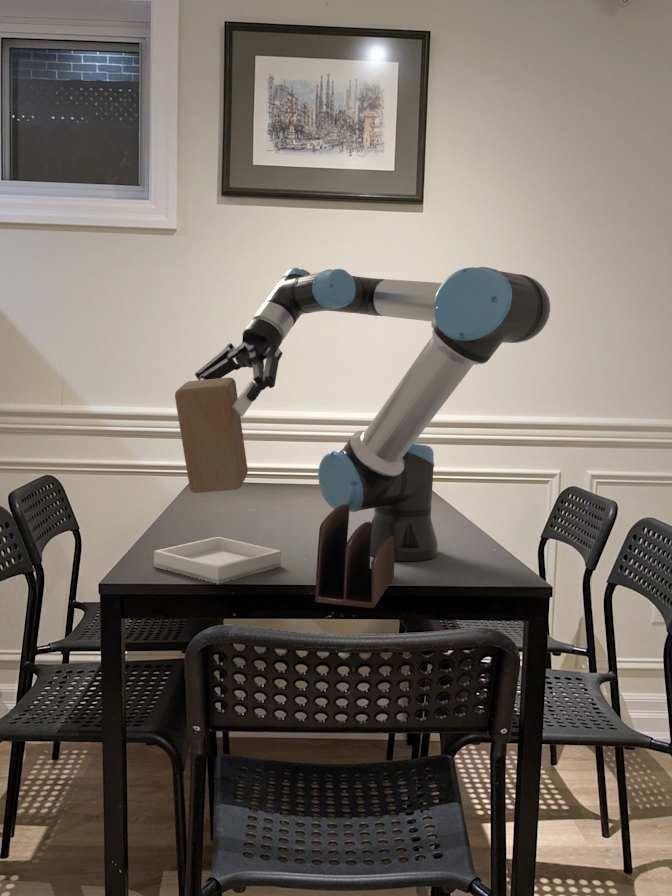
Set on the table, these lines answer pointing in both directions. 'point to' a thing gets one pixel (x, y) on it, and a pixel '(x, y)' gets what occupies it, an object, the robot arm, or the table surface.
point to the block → (211, 435)
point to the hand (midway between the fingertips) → (212, 409)
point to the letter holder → (351, 563)
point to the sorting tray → (217, 559)
